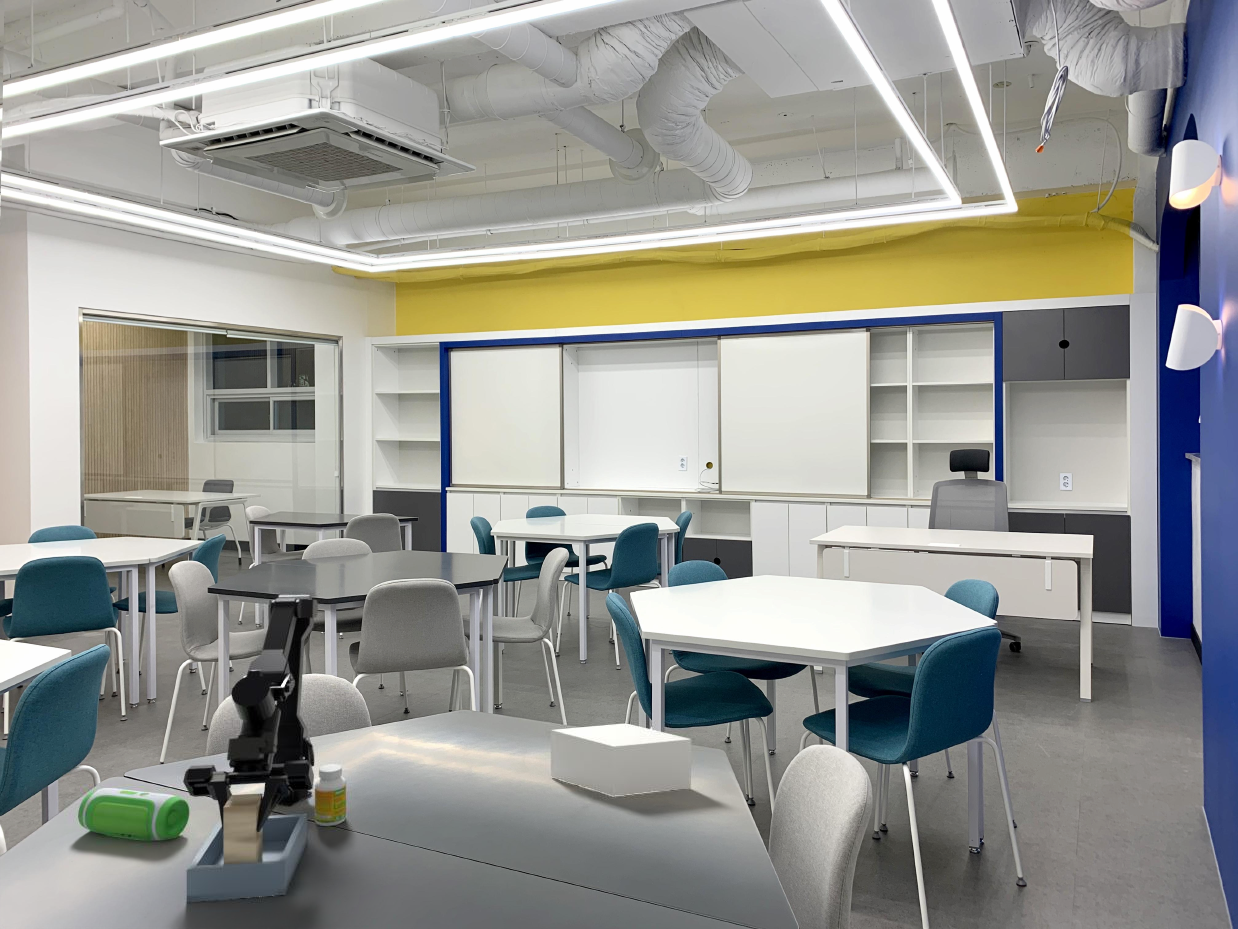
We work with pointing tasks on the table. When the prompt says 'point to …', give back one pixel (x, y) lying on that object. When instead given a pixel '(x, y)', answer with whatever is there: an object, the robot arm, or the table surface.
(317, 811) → the supplement bottle
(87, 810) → the speaker
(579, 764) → the white rectangular block
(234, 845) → the tall ash block
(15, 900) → the table surface
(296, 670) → the robot arm
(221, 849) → the tote
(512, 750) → the table surface
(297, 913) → the table surface
